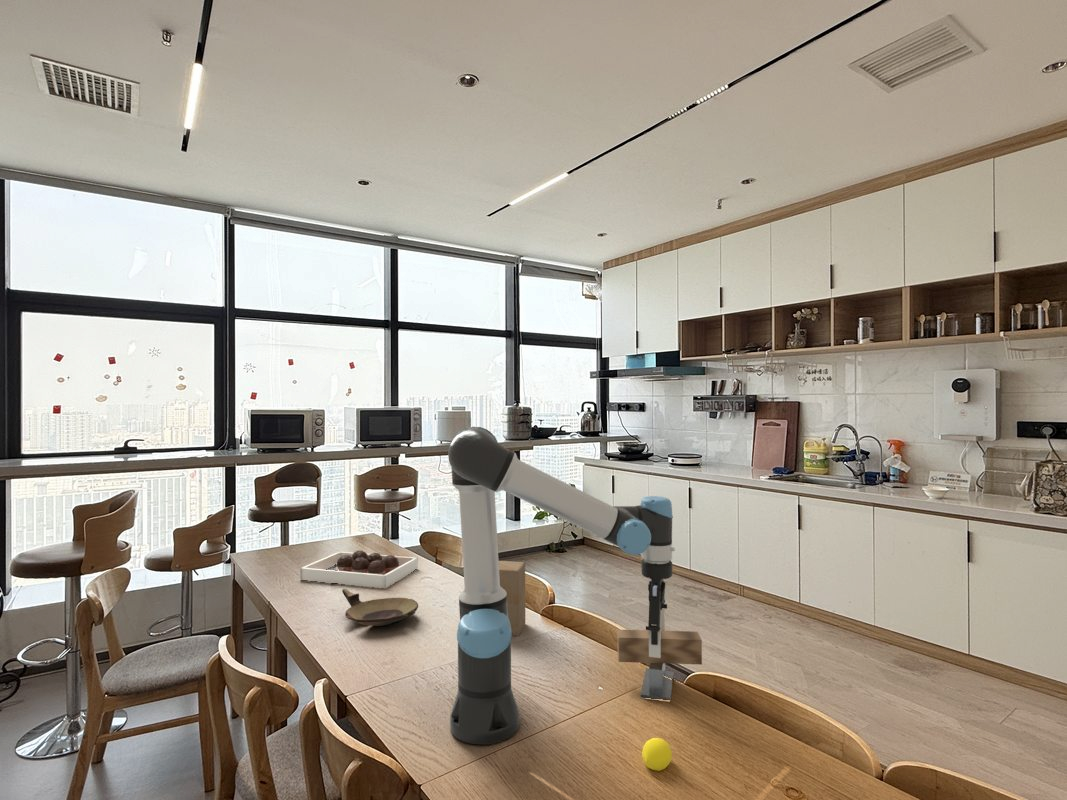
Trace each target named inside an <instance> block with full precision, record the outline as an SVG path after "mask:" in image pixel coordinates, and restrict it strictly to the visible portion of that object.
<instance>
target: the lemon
mask: <svg viewBox="0 0 1067 800" xmlns="http://www.w3.org/2000/svg"><path fill="white" fill-rule="evenodd" d="M641 756H642V760H643V763H644V764H645V765H646V767H647V768H648V769H650V770H652V771H657V772H660V771H663V770H665V769H666V768H667V767H668V765H670V763H671V761H672V758H673V752H672V749H671V747H670V743H668V742H667V741H665V740H664V739H663V738H661V737H653V738H650V739H649V740H647V741H646V742H645V743H644V745H643V747H642V752H641Z"/></svg>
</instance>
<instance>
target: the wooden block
mask: <svg viewBox="0 0 1067 800" xmlns="http://www.w3.org/2000/svg"><path fill="white" fill-rule="evenodd" d="M499 578H500V586H501V587H502V588H503V589H504V590H505V591H506V593H507V609H508V618H509V621H510V625H511V630H512V637H519V636H520V634H521V632H522V630H523V629H524V627H525V626H526V563H525V561H511V560H509V561H508V560H499Z"/></svg>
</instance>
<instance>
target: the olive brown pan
mask: <svg viewBox="0 0 1067 800" xmlns="http://www.w3.org/2000/svg"><path fill="white" fill-rule="evenodd" d="M341 591H342V594H343V596H344V597H345V598H346V600H347V602H348V603H349V605H350V607H349V608H348V609H347V610H345V617H346V619H348V620H349V621H350V620H351V621H354V622H355V623H357V624H359V625H363V626H370V627H373V626H375V627H378V626H379V627H380V626H386V625H391V624H394V623H396V622H398V621H402V620H403V619H406V618H408V617H409V616H412V615H414V614H416V611H417V610H418V608H419V603H418V602H417V601H416V600H414V599H413V598H407V597H387V598H385V597H384V598H376V599H371V600H366V601H361V600H360V593H353V592H350V590H348V589H346V588H343V589H342V590H341Z"/></svg>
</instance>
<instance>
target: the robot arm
mask: <svg viewBox="0 0 1067 800" xmlns="http://www.w3.org/2000/svg"><path fill="white" fill-rule="evenodd" d="M447 454H448V461H449V465H450V467H451V483H452V484H451V485H452V486H453V488H455V489H456V490H457V491H458V493H459V495H458V496H459V511H460V512H459V514H460V530H461V548H462V549H461V550H462V565H463V566H462V567H463V581H464V582H463V583H464V584H463V585H464V589H463V591H461V592H460V594H459V595H458V605H459V606H458V607H459V609H458V610H459V622H458V625H457V626H458V627H457V631H456V640H457V685H458V686H457V693H456V695H455V696H456V697H455V700H454V703H453V706H452V710H451V713H450V719H449V722H450V724H449V726H450V732H451V734H452V735H453V736H454V737H455V738H456V739H458V740H459V741H462V742H463V743H467V744H473V745H491V744H497V743H500V742H503V741H506V740H507V739H509V738H511V737H512V736H514V734H515V733H516V732H517V731H518V729H519V727H520V710H519V708H518V704H517V701H516V698H515V695H514V692H513V690H512V689H513V688H512V637H513V636H512V630H511V625H510V621H509V618H508V609H507V593H506V591H505V590H504V589H503V588H502V587H501V586H500V578H499V561H500V559H499V546H498V529H497V528H498V527H497V526H498V525H497V511H496V510H497V508H496V494H495V493H499V492H501V491H504V492H506V493H507V494H510V495H512V496H514V497H516V498H519V499H520V500H522V501H525V502H526V503H528V504H530V505H533V506H534V507H536V508H538V509H541V510H543V511H545V512H548V513H549V514H551V515H553V516H555V517H557V518H560V519H561V520H564V521H566V522H568V523H569V524H572V525H574V526H576V527H578V528H580V529H582V530H584V531H587V532H588V533H591V534H592V535H594V536H596V537H597V538H601V539H603V540H604V541H606V542H608V543H610V544H612V545H614V546H616V547H618V548H619V549H620V550H621V551H623V552H624V553H626V554H628V555H632V556H637V555H641V556H640V557H641V558H642V560H641V566H640V567H641V575H642V576H643V577H645V578H648V579H650V580H649V581H648V587H647V590H648V602H649V603H648V624H647V625H648V626H647V625H646V626H645V630H649V657H655V658H661V631H666V630H665V625H666V624H665V615H666V613H665V610H667V609H668V604H667V603H666V599H665V592H666V582H665V581H664V580H667V579H670V578H672V576H673V562H672V560H673V552H675V550H676V549H675V547H674V546H673V518H674V517H673V506H672V505H673V504H672V501H671V500H670V499H669V498H667V497H664V496H657V495H656V496H654V495H652V496H651V495H649V496H643V498H641V499H640V500H641V501H640V505H635V506H633V505H632V506H631V505H630V506H629V505H628V506H627V505H624V506H623V505H622V506H619V505H617V506H616V505H615V506H613V505H611V504H609V503H606V502H605V501H603V500H600V499H599V498H597V497H594V496H593V495H590V494H589V493H586V492H585V491H582V490H580V489H578V488H577V487H575V486H572V485H570V484H568V483H566V482H564V481H563V480H560V479H559V478H556V477H555V476H553V475H550V474H548V473H546V472H544V471H542V470H541V469H538V468H536V467H534V466H532V465H531V464H529V463H526V462H524V461H522V460H520V459H519V458H518V456H517V453H516V452H514V451H512V450H511V449H508V448H507V447H505V446H503V445H502V444H501V443H499V442H498V440H497V438H496V436H495V435H494V434H493V433H492V432H491V431H490V430H488V429H487V428H484V427H480V426H470V427H469V426H467V427H466V428H464V429H462V430H460V431H459V432H458V433H457V434H455V436H454V437H453V439H452V441H451V442H450V445H449V447H448V451H447Z"/></svg>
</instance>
